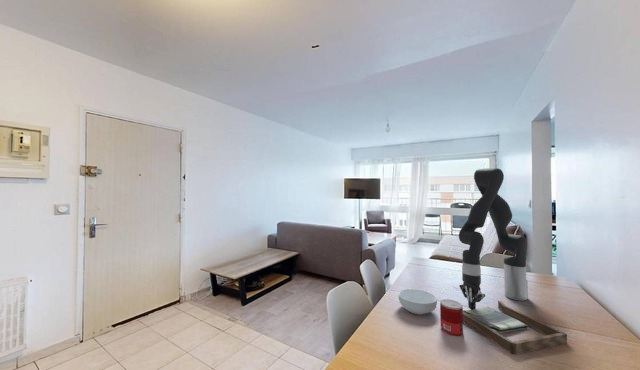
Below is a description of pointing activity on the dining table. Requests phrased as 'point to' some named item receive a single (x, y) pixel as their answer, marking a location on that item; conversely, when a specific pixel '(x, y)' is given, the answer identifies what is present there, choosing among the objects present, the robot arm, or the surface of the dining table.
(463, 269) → the robot arm
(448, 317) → the canned food
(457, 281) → the dining table surface
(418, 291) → the cereal bowl
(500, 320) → the dish towel
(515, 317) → the towel holder
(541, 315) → the dining table surface
